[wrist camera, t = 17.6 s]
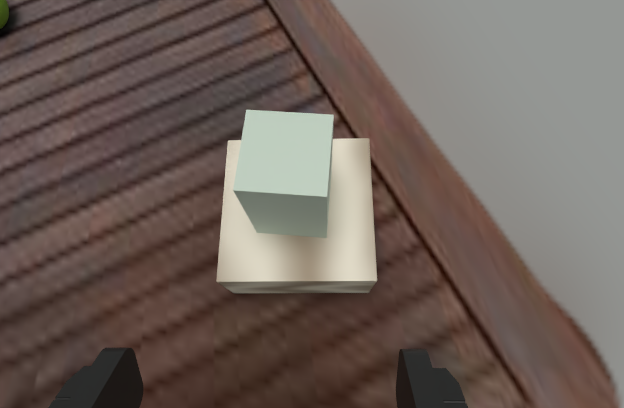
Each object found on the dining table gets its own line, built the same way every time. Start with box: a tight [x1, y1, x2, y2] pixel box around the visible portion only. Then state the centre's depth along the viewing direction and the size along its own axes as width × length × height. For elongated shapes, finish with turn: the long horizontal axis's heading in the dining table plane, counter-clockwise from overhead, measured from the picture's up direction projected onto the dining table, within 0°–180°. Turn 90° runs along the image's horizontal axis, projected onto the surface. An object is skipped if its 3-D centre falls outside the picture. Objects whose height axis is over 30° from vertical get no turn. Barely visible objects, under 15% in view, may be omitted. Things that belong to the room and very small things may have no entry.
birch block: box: [217, 138, 377, 293], centre depth 32 cm, size 11×11×6 cm
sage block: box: [233, 110, 334, 238], centre depth 26 cm, size 5×5×8 cm
